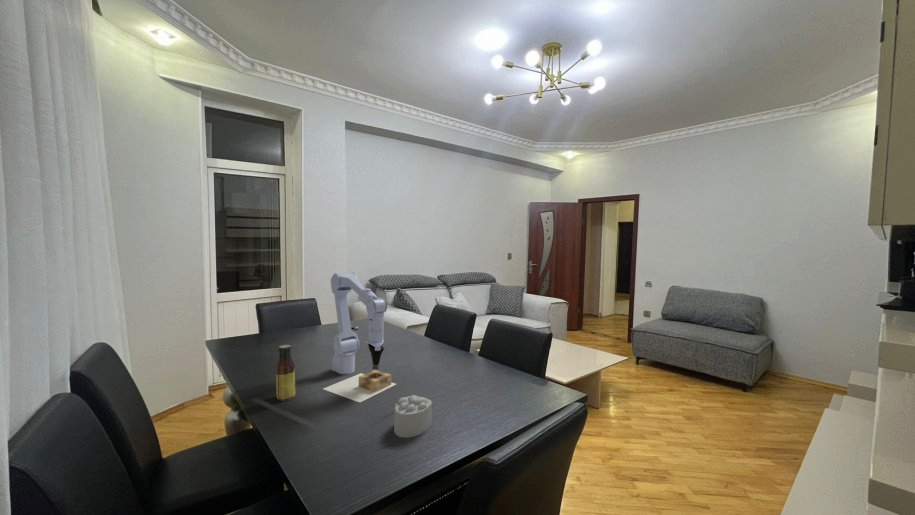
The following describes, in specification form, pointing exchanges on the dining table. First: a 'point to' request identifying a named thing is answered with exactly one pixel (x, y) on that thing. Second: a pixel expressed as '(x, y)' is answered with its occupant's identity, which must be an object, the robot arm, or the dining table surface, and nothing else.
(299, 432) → the dining table surface
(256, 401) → the dining table surface
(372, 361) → the metal peg
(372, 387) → the square wooden ring
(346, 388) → the board
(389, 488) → the dining table surface
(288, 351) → the sauce bottle
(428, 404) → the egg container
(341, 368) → the robot arm
